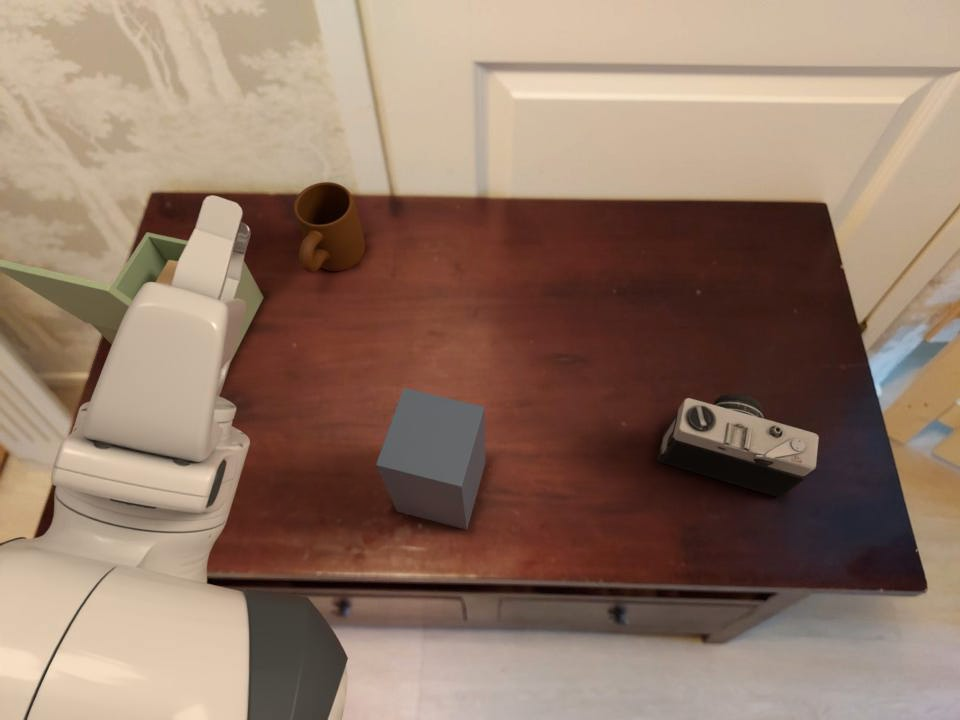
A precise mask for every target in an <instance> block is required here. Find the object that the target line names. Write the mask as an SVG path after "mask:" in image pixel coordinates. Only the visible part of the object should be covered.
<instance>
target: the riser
mask: <svg viewBox="0 0 960 720" xmlns="http://www.w3.org/2000/svg"><path fill="white" fill-rule="evenodd" d="M485 413H486V412H485V406H482V405H479V404H475V403H470V402H465V401H462V400H457V399H453V398H449V397H445V396H440V395H436V394H432V393H429V392H428V393H427V392H423V391H419V390H416V389H415V390H414V389H411V388H406V387H403V388H402V391H401V393H400V396H399V399H398V402H397V404H396V406H395V410H394V412H393V416H392V418H391V421H390V424H389V427H388V428H387V429H388V430H387V433H386V435H385V438H384V440H383V444H382V447H381V449H380V451H379V455H378V458H377V459H376V463H375V466H376V468H377V471H378V473H379V476H380V477H381V479H382V482H383V484H384V486H385V489H386V490H387V493H388V494H389V497H390V499H391V501H392V503H393V506H394V508H395V510H396V512H397V513H401V514H404V515H409V516H413V517H417V518H420V519H425V520H427V521H432V522H436V523H439V524H443V525H447V526H451V527H454V528H459V529H462V530H466V531H467V530H468V529H469V524H470V521H471V518H472V513H473V510H474V507H475V503H476V499H477V496H478V491H479V488H480V485H481V480H482V477H483V475H484V470H485V466H486V463H487V462H486V460H487V459H486V458H487V457H486V422H485V421H486V420H485V419H486V417H485V415H486V414H485Z"/></svg>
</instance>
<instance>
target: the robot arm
mask: <svg viewBox="0 0 960 720" xmlns="http://www.w3.org/2000/svg"><path fill="white" fill-rule="evenodd" d="M243 219H244V211H243V209H242V207H241V206H240V204H238V202H235V201H233V200H229V199H226V198H223V197H220V196H217V195H208V196H206V197H205V198H204V199H203V201H202V204H201V208H200V211H199V214H198V217H197V220H196V223H195V228H194V229H193V231H192V233H191V234H190V237H189V239H188V240H187V241H188V243H187V245H186V247H185V249H184V251H183V253H182V255H181V257H180V258H179V260H178V263H177V267H176V270H175V274H174V277H173V280H172V284H166V283H156V282H148V283H145V284H144V285H143V286H142V287H141V288H140V290H139V291H138V293H137V294H136V296H135V297H134V299H133V301H132V302H131V304H130V306H129V308H128V310H127V312H126V313H125V315H124V317H123V320H122V322H121V324H120V327H119V329H118V332H117V334H116V337H115V339H114V341H113V344H111V347H110V349H109V351H108V354H107V357H106V359H105V362H104V364H103V367H102V369H101V373H100V375H99V378H98V379H97V382H96V386H95V387H94V391H93V393H92V396H91V397H90V400H89V401H87V402H85V403H83V404H81V405H80V407H79V409H78V411H77V416H76V418H75V421H74V425H73V428H72V430H71V432H70V434H68V435H67V436H66V437H65V438H63V440H62V441H61V442H60V445H59V447H58V450H57V453H56V455H55V456H56V457H55V459H54V462H53V465H52V470H51V474H50V482H51V484H52V485H53V486H55V489H54V496H53V497H54V501H53V502H54V503H53V504H54V506H53V517H52V521H51V524H50V525H49V527H48V529H47V531H45V533H44V534H43V535H41V536H38V537H34V538H27V537H26V536H19V537H14V538H11V539H8V540H6V541H2V542H0V720H343V717H344V712H345V706H346V700H347V694H348V693H347V692H348V668H347V664H348V660H349V657H348V655H347V653H346V651H345V648H344V647H343V645H342V643H341V642H340V639H339V638H338V636H337V634H336V633H335V631H334V630H333V628H332V627H331V625H330V623H329V622H328V621H327V619H326V618H325V617H324V616H323V614H322V613H321V611H320V610H319V609H318V608H317V607H316V605H315V604H314V603H313V601H312V600H311V599H310V598H309V597H308V596H303V595H295V594H288V593H280V592H272V591H265V590H257V589H250V588H241V589H240V590H238V589H233V588H227V587H225V586H219V585H215V584H211V583H208V564H209V563H208V562H209V557H210V554H211V551H212V549H213V547H214V545H215V543H216V541H217V539H218V538H219V537H220V535H221V534H222V532H223V530H224V529H225V527H226V525H227V521H228V518H229V515H230V511H231V508H232V505H233V502H234V499H235V495H236V493H237V489H238V485H239V482H240V478H241V475H242V472H243V468H244V465H245V462H246V459H247V455H248V451H249V448H250V444H251V440H250V438H249V437H248V435H246V434H245V433H244V432H243V431H242V430H240V429H239V428H236V427H234V426H233V422H234V421H233V420H234V419H235V415H236V412H237V406H236V404H234V403H233V402H232V401H230V400H228V399H227V398H224V397H222V396H220V395H221V393H222V390H223V387H224V384H225V381H226V378H227V375H228V371H229V369H230V366H231V363H230V362H232V361H231V359H232V356H233V353H234V349H235V346H236V343H237V339H238V336H239V333H240V330H241V326H242V323H243V319H244V316H245V311H246V303H245V301H244V300H242V299H239V298H236V297H235V296H236V293H237V290H238V286H239V283H240V279H241V273H242V267H243V262H245V256H246V252H247V249H248V248H247V247H248V245H249V242H250V238H251V234H252V233H251V229H250V227H249V226H248V225H247V224H246V223H245V222H243ZM232 360H233V359H232Z"/></svg>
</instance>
